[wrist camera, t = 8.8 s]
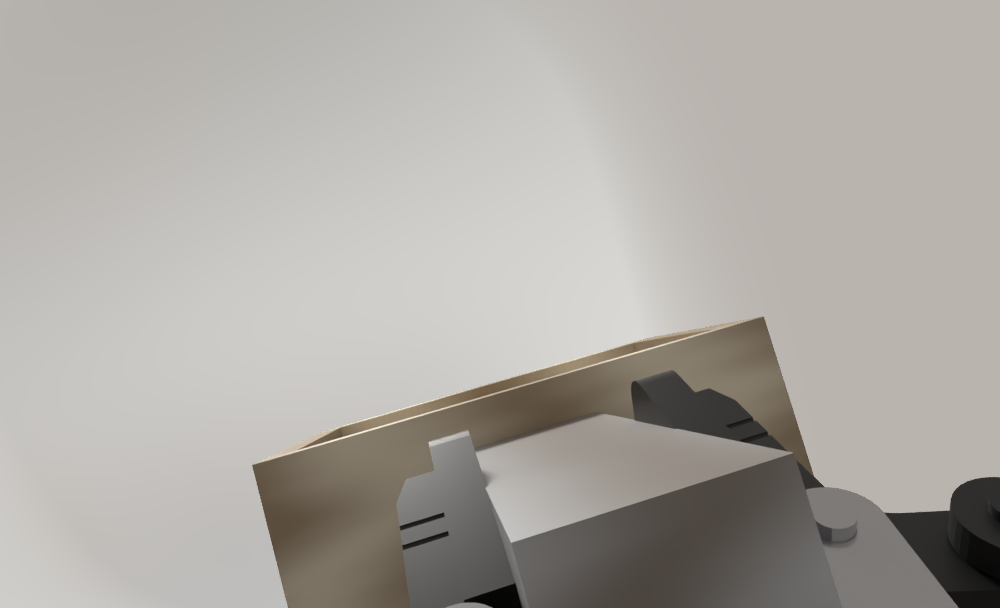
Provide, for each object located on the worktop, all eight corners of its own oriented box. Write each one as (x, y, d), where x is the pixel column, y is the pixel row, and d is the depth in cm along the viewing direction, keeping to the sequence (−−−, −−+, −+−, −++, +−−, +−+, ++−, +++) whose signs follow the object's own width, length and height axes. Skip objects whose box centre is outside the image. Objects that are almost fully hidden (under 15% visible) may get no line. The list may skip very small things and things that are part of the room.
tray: (129, 1175, 6) (-1, 585, 6) (357, 576, 23) (320, 432, 24) (1300, 701, 7) (1135, 246, 8) (687, 472, 25) (646, 338, 25)
